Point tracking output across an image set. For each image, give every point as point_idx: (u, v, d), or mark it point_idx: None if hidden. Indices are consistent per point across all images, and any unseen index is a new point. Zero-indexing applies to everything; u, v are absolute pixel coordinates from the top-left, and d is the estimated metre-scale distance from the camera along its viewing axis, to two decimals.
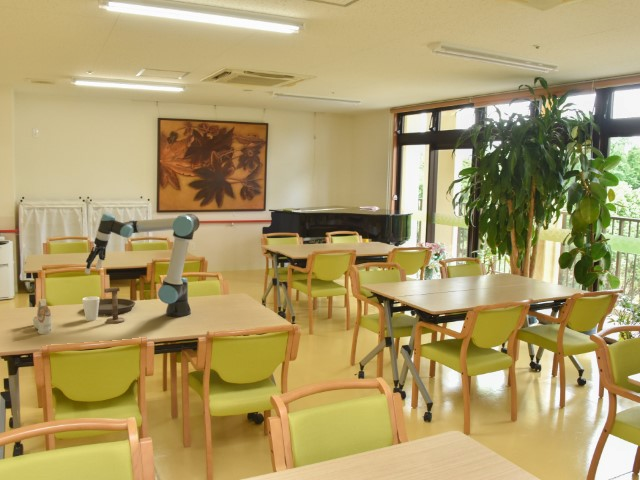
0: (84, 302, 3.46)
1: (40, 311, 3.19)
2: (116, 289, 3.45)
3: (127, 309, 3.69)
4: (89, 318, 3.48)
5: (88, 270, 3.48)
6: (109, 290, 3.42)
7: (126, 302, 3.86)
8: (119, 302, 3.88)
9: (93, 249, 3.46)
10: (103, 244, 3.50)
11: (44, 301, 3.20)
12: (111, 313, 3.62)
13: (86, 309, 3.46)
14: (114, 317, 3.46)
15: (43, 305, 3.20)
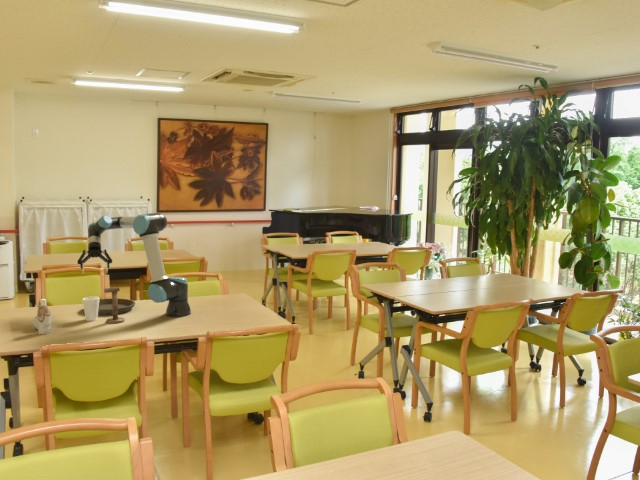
0: (84, 302, 3.46)
1: (40, 311, 3.19)
2: (116, 289, 3.45)
3: (127, 309, 3.69)
4: (89, 318, 3.48)
5: None
6: (109, 290, 3.42)
7: (126, 302, 3.86)
8: (119, 302, 3.88)
9: (83, 252, 3.67)
10: (90, 245, 3.69)
11: (44, 301, 3.20)
12: (111, 313, 3.62)
13: (86, 309, 3.46)
14: (114, 317, 3.46)
15: (43, 305, 3.20)
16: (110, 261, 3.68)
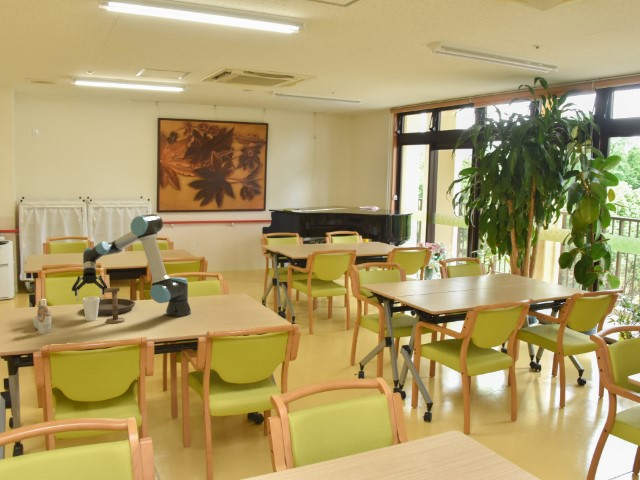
0: (84, 302, 3.46)
1: (40, 311, 3.19)
2: (116, 289, 3.45)
3: (127, 309, 3.69)
4: (89, 318, 3.48)
5: None
6: (109, 290, 3.42)
7: (126, 302, 3.86)
8: (119, 302, 3.88)
9: None
10: (85, 271, 3.62)
11: (44, 301, 3.20)
12: (111, 313, 3.62)
13: (86, 309, 3.46)
14: (114, 317, 3.46)
15: (43, 305, 3.20)
16: (105, 287, 3.61)
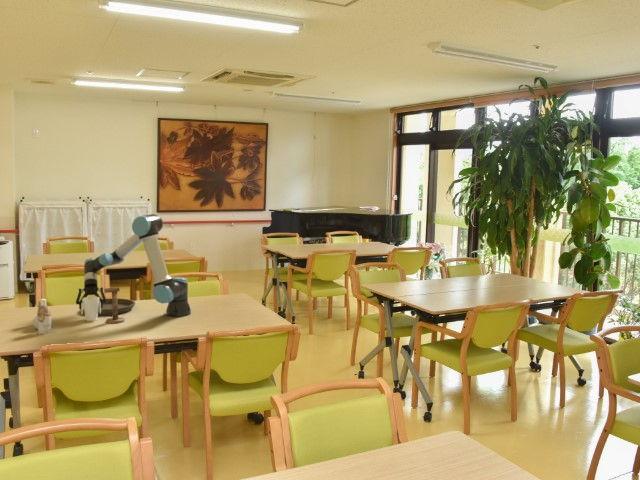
0: (84, 302, 3.46)
1: (40, 311, 3.19)
2: (116, 289, 3.45)
3: (127, 309, 3.69)
4: (89, 318, 3.48)
5: (81, 309, 3.46)
6: (109, 290, 3.42)
7: (126, 302, 3.86)
8: (119, 302, 3.88)
9: (79, 291, 3.54)
10: (86, 282, 3.56)
11: (44, 301, 3.20)
12: (111, 313, 3.62)
13: (86, 309, 3.46)
14: (114, 317, 3.46)
15: (43, 305, 3.20)
16: (103, 300, 3.54)
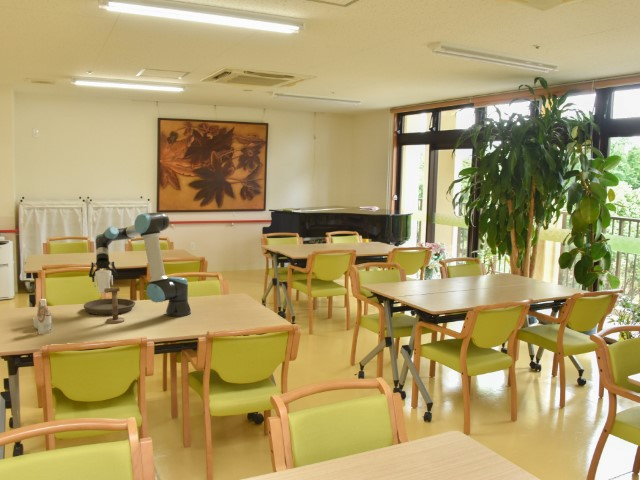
0: (97, 275, 3.62)
1: (40, 311, 3.19)
2: (116, 289, 3.45)
3: (127, 309, 3.69)
4: (102, 290, 3.64)
5: (94, 282, 3.63)
6: (109, 290, 3.42)
7: (126, 302, 3.86)
8: (119, 302, 3.88)
9: (91, 265, 3.70)
10: (98, 256, 3.72)
11: (44, 301, 3.20)
12: (111, 313, 3.62)
13: (99, 282, 3.63)
14: (114, 317, 3.46)
15: (43, 305, 3.20)
16: (115, 274, 3.70)
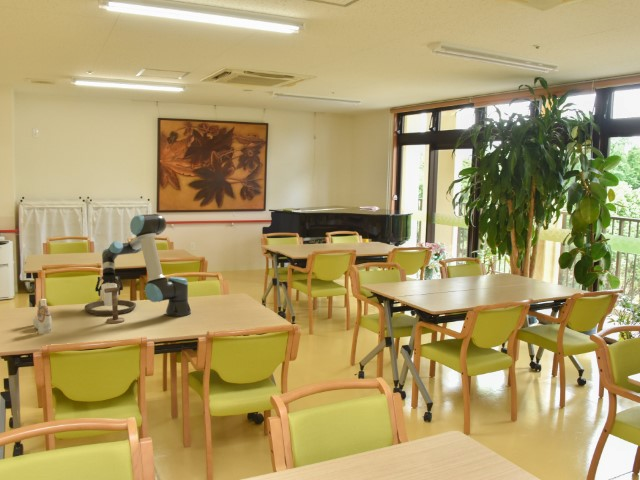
0: (103, 288, 3.69)
1: (40, 311, 3.19)
2: (116, 289, 3.45)
3: (128, 311, 3.69)
4: (108, 303, 3.71)
5: (100, 296, 3.70)
6: (109, 290, 3.42)
7: (127, 304, 3.86)
8: (120, 304, 3.88)
9: None
10: (104, 270, 3.79)
11: (44, 301, 3.20)
12: None
13: (105, 295, 3.70)
14: (114, 317, 3.46)
15: (43, 305, 3.20)
16: (121, 288, 3.77)
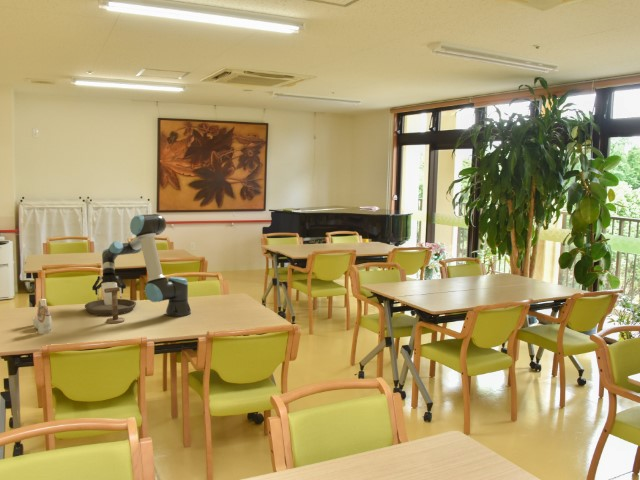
0: (103, 287, 3.69)
1: (40, 311, 3.19)
2: (116, 289, 3.45)
3: (128, 309, 3.69)
4: (108, 302, 3.71)
5: (97, 295, 3.70)
6: (109, 290, 3.42)
7: (127, 302, 3.86)
8: (120, 302, 3.88)
9: None
10: (104, 271, 3.79)
11: (44, 301, 3.20)
12: (112, 313, 3.62)
13: (105, 293, 3.69)
14: (114, 317, 3.46)
15: (43, 305, 3.20)
16: (124, 286, 3.78)
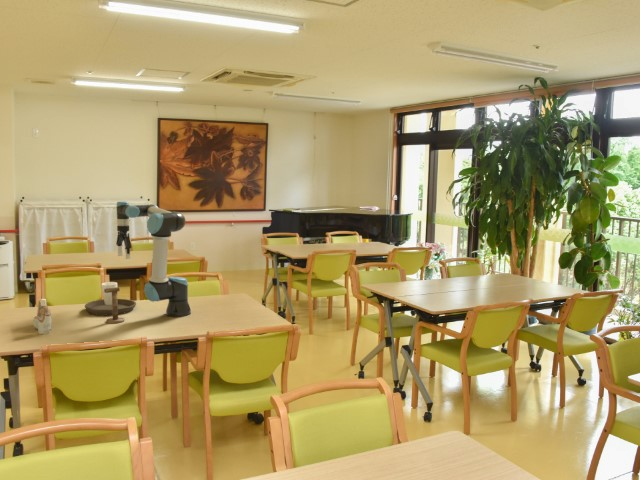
0: (103, 287, 3.69)
1: (40, 311, 3.19)
2: (116, 289, 3.45)
3: (128, 309, 3.69)
4: (108, 302, 3.71)
5: None
6: (109, 290, 3.42)
7: (127, 302, 3.86)
8: (120, 302, 3.88)
9: None
10: None
11: (44, 301, 3.20)
12: (112, 313, 3.62)
13: (105, 293, 3.69)
14: (114, 317, 3.46)
15: (43, 305, 3.20)
16: (127, 248, 3.76)
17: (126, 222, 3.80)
